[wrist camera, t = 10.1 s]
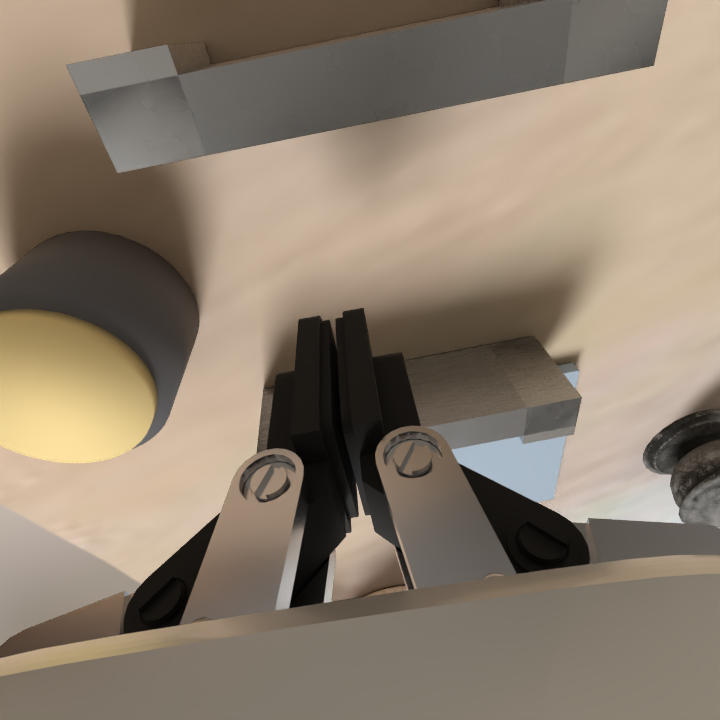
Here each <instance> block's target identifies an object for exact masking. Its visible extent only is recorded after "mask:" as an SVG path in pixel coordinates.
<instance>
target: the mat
mask: <svg viewBox="0 0 720 720" xmlns="http://www.w3.org/2000/svg"><path fill="white" fill-rule="evenodd" d="M557 366H558V367H559V368H560V370H561V371H562V372H563V374H564V375H565V376H566V377H567V379H568V380H569V381H570V383H571V384H572V385H573V386H574V388H575V389H576V385H577V380H578V375H579V369H578V368H577V367H576V366H575V365H574V363H567V364H562V365H557ZM565 439H566V436H563V437H558V438H553V439H548V440H542V441H537V442H532V443H527V444H523V443H522V441H521V439H520V438H519V437H514V438H509V439H504V440H499V441H494V442H488V443H483V444H478V445H473V446H468V447H463V448H457V449H452V452H453V454H454V456H455V458H456V460H457V461H458V463H459V464H461V465H463V466H465V467H467V468H469V469H471V470H473V471H475V472H477V473H479V474H481V475H483V476H485V477H487V478H489V479H491V480H493V481H495V482H497V483H499V484H501V485H503V486H505V487H507V488H509V489H511V490H513V491H515V492H517V493H519V494H521V495H523V496H525V497H527V498H529V499H531V500H533V501H535V502H540V501H546V500H551V499H554V494H555V489H556V484H557V479H558V474H559V469H560V464H561V459H562V454H563V449H564V444H565Z"/></svg>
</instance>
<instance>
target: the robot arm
mask: <svg viewBox="0 0 720 720" xmlns="http://www.w3.org/2000/svg"><path fill="white" fill-rule="evenodd" d="M336 339H337V348H336V344H335V340H334V336H333V332H332V328H331V324H330V321H329V320H325V321H322V319H321V317H320V316H316V317H310V318H305V319H299V322H298V334H297V347H296V361H295V371H291V372H285V373H279V374H277V375H276V379H275V386H274V394H273V402H272V409H271V417H270V425H269V432H268V440H267V448H266V450H265V451H262V452H260V453H257V454H255V455H253V456H252V457H251V458H249V459H248V460H246V461H245V462H244V463H243V464H242V465H241V466H240V467H239V469H238V470H237V472H236V474H235V475H234V477H233V479H232V482H231V485H230V488H229V490H228V493H227V496H226V499H225V501H224V504H223V507H222V510H221V512H220V513H219V514H218V515H217V516H216V517H215V518H214V519H212V520H211V521H210V522H209V523H208V524H207V525H206V526H205V527H204V528H202V529H201V530H200V531H199V532H198V533H197V534H196V535H195V536H194V537H192V538H191V539H190V540H189V541H188V542H187V543H186V544H185V545H184V546H182V547H181V548H180V549H179V550H178V551H177V552H176V553H175V554H174V555H172V556H171V557H170V558H169V559H168V560H167V561H166V562H165V563H164V564H162V565H161V566H160V567H159V568H158V569H157V570H156V571H155V572H154V573H152V574H151V575H150V576H149V577H148V578H147V579H146V580H145V581H144V582H143V583H142V584H141V586H140V587H139V588H138V589H137V590H136V592H135V593H133V594H130V595H129V594H128V593H127V592H125V591H123V592H120V593H118V594H115V595H113V596H110V597H108V598H105V599H102V600H100V601H97V602H94V603H92V604H89V605H87V606H84V607H82V608H79V609H76V610H74V611H71V612H69V613H67V614H63V615H61V616H58V617H56V618H53V619H50V620H48V621H45V622H43V623H40V624H38V625H35V626H32V627H30V628H27V629H25V630H23V631H21V632H19V633H17V634H16V635H14V636H12V637H10V638H9V639H8V640H7V641H6V642H4V643H3V644H2V645H1V646H0V720H720V528H716V527H711V526H706V525H697V524H680V523H663V522H645V521H628V520H611V519H593V518H588V520H587V523H572V522H571V521H569V520H568V519H566V518H565V517H563V516H562V515H560V514H559V513H557V512H555V511H553V510H551V509H549V508H547V507H545V506H543V505H541V504H539V503H537V502H535V501H533V500H531V499H529V498H527V497H525V496H523V495H521V494H519V493H517V492H515V491H513V490H511V489H509V488H507V487H505V486H503V485H501V484H499V483H497V482H495V481H493V480H491V479H489V478H487V477H485V476H483V475H481V474H479V473H477V472H475V471H473V470H471V469H469V468H467V467H465V466H463V465H461V464H459V463H458V461H457V460H456V458H455V456H454V454H453V452H452V450H451V448H450V446H449V444H448V443H447V441H446V440H445V439H444V438H443V436H442V435H440V434H439V433H437V432H436V431H434V430H433V429H430V428H426V427H423V426H421V424H420V420H419V416H418V413H417V409H416V405H415V401H414V397H413V393H412V389H411V385H410V382H409V378H408V374H407V370H406V366H405V362H404V358H403V355H402V352H400V353H394V354H388V355H383V356H377V357H372V352H371V346H370V341H369V335H368V330H367V324H366V319H365V313H364V308H360V309H355V310H349V311H344V312H343V317H342V318H336ZM356 483H357V486H358V490H359V494H360V498H361V501H362V505H363V509H364V512H365V515H371V518H372V522H373V526H374V530H375V532H376V533H378V534H379V535H380V536H382V537H383V538H385V539H386V540H388V541H389V542H390V543H392V544H393V545H394V549H395V553H396V556H397V559H398V562H399V566H400V569H401V572H402V575H403V579H404V582H405V585H406V588H407V590H406V591H400V592H393V593H387V594H380V595H373V596H367V597H360V598H354V599H347V600H340V601H334V602H331V599H332V590H333V582H334V573H335V565H336V550H335V548H336V547H337V546H338V545H339V544H340V543H341V541H342V540H343V539H344V538H345V537H346V533H350V532H351V518H353V517H358V515H359V513H358V500H357V487H356Z"/></svg>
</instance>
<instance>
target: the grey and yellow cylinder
mask: <svg viewBox="0 0 720 720" xmlns="http://www.w3.org/2000/svg"><path fill="white" fill-rule="evenodd" d="M198 328H199V313H198V308H197V304H196V301H195V298H194V296H193V294H192V292H191V290H190V288H189V286H188V285H187V283H186V282H185V280H184V279H183V277H182V276H181V275H180V274H179V273H178V272H177V271H176V269H175V268H174V267H172V266H171V265H170V264H169V263H168V262H167V261H166V260H165V259H163V258H162V257H161V256H159V255H158V254H157V253H155V252H153V251H152V250H150V249H148V248H147V247H145V246H143V245H141V244H139V243H137V242H135V241H132V240H130V239H127V238H124V237H121V236H118V235H114V234H109V233H104V232H96V231H76V232H68V233H64V234H60V235H57V236H54V237H52V238H50V239H47V240H45V241H44V242H42V243H41V244H39V245H38V246H36V247H35V248H34V249H33V250H31V251H30V252H29V253H28V254H26V255H25V256H24V257H23V258H21V259H20V260H19V261H18V262H16V263H15V264H14V265H13V266H11V267H10V268H9V269H8V270H6V271H5V272H4V273H3V274H1V275H0V446H2V447H4V448H7V449H9V450H12V451H14V452H17V453H20V454H23V455H26V456H30V457H33V458H37V459H42V460H48V461H53V462H63V463H89V462H97V461H102V460H107V459H111V458H113V457H116V456H119V455H121V454H123V453H125V452H128V451H129V450H131V449H134V448H136V447H138V446H140V445H142V444H144V443H146V442H147V441H149V440H150V439H152V438H153V437H154V436H155V435H156V434H157V433H158V432H159V431H160V430H161V429H162V427H163V426H164V425H165V423H166V421H167V419H168V417H169V415H170V412H171V409H172V406H173V403H174V400H175V397H176V394H177V392H178V389H179V386H180V383H181V380H182V377H183V374H184V371H185V369H186V366H187V363H188V360H189V357H190V354H191V351H192V348H193V346H194V343H195V340H196V337H197V333H198Z"/></svg>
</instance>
